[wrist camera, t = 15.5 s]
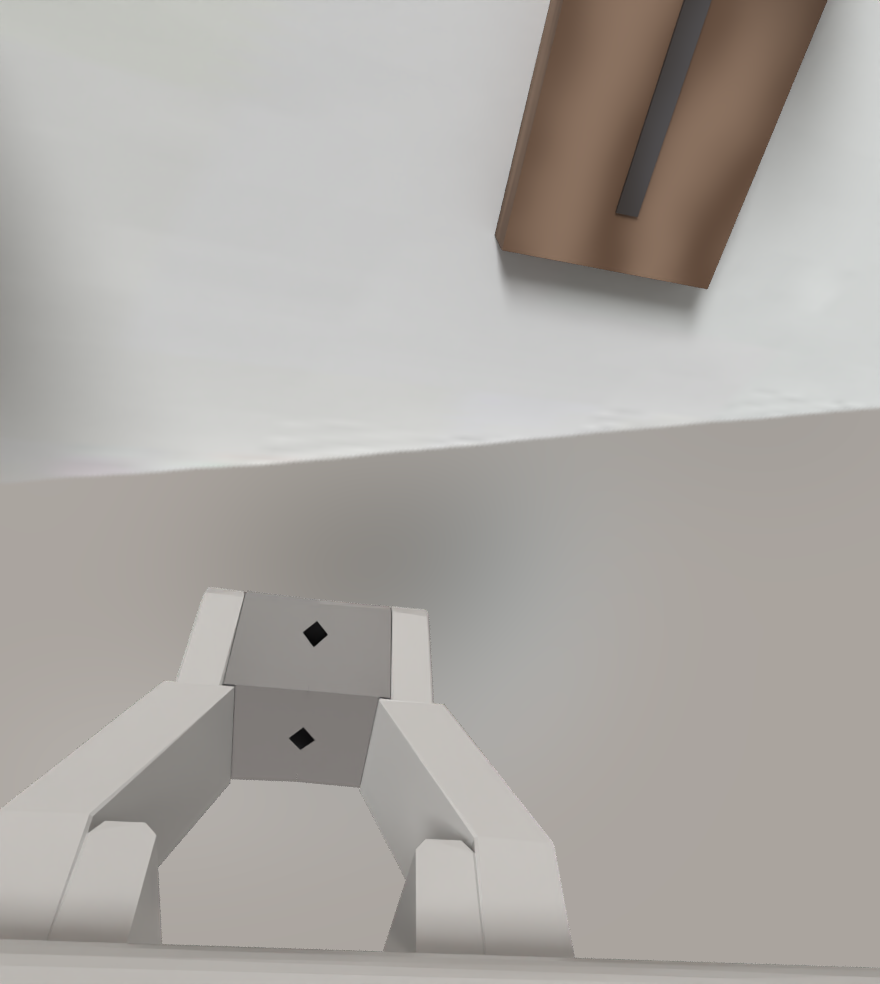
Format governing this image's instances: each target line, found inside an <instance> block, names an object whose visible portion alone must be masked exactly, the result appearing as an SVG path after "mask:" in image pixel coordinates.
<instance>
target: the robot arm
mask: <svg viewBox="0 0 880 984" xmlns="http://www.w3.org/2000/svg"><path fill="white" fill-rule="evenodd" d="M431 663H432V662H431V645H430V625H429V614H428V613H427V610H426V609H415V608H405V607H393V606H391V608H390V607H389V606H380V605H370V604H359V603H349V602H338V601H327V600H315V599H307V598H299V597H291V596H283V595H276V594H268V593H260V592H252V591H247V592H244V591H236V590H230V589H222V588H215V587H208V588H207V590H206V591H205V593H204V594H203V597H202V600H201V603H200V606H199V609H198V612H197V616H196V619H195V622H194V625H193V628H192V631H191V634H190V637H189V641H188V644H187V647H186V650H185V653H184V656H183V659H182V662H181V665H180V669H179V672H178V675H177V678H176V681H162V682H161V683H160V684H159V685H157V686H156V687H155V688H153V689H152V690H151V691H150V692H148V693H147V694H146V695H145V696H143V697H142V698H141V699H139V700H138V701H137V702H136V703H134V704H133V705H132V706H130V707H129V708H128V709H127V710H125V711H124V712H123V713H122V714H120V715H119V716H118V717H116V718H115V719H114V720H113V721H111V722H110V723H109V724H107V725H106V726H105V727H104V728H103V729H101V730H100V731H99V732H97V733H96V734H95V735H94V736H92V737H91V738H90V739H88V740H87V741H86V742H85V743H83V744H82V745H81V746H80V747H78V748H77V749H76V750H75V751H73V752H72V753H71V754H69V755H68V756H67V757H65V758H64V759H63V760H62V761H60V762H59V763H58V764H57V765H56V766H54V767H53V768H51V769H50V770H49V771H48V772H47V773H45V774H44V775H42V776H41V777H40V778H39V779H37V780H36V781H35V782H34V783H32V784H31V785H30V786H28V787H27V788H26V789H25V790H23V791H22V792H21V793H20V794H18V795H17V796H16V797H14V798H13V799H12V800H11V801H9V802H8V803H7V804H6V805H4V806H3V807H2V808H0V984H880V968H869V967H838V966H807V965H776V964H744V963H715V962H714V963H713V962H686V961H685V962H684V961H654V960H625V959H593V958H575V957H574V951H573V946H572V940H571V935H570V929H569V924H568V919H567V913H566V907H565V902H564V897H563V891H562V886H561V880H560V875H559V869H558V864H557V858H556V853H555V847H554V843H553V842H552V841H551V840H550V838H549V837H548V836H547V834H546V833H545V832H544V831H543V829H542V828H541V827H540V826H539V824H538V823H537V822H536V820H535V819H534V818H533V817H532V815H531V814H530V813H529V811H528V810H527V809H526V808H525V806H524V805H523V804H522V803H521V801H520V800H519V799H518V797H517V796H516V795H515V794H514V792H513V791H512V790H511V788H510V787H509V786H508V785H507V784H506V782H505V781H504V780H503V778H502V777H501V776H500V775H499V773H498V772H497V771H496V769H495V768H494V767H493V766H492V764H491V763H490V762H489V761H488V759H487V758H486V757H485V755H484V754H483V753H482V752H481V750H480V749H479V748H478V747H477V745H476V744H475V743H474V741H473V740H472V739H471V738H470V736H469V735H468V734H467V733H466V731H465V730H464V729H463V727H462V726H461V725H460V724H459V722H458V721H457V720H456V718H455V717H454V716H453V715H452V713H451V712H450V711H449V710H448V708H447V707H446V706H445V705H444V704H436V703H434V698H433V680H432V664H431ZM230 779H243V780H268V781H294V782H296V780H297V782H306V783H316V784H327V785H338V786H349V787H359V788H360V790H359V791H360V793H361V795H362V797H363V799H364V801H365V802H366V804H367V806H368V808H369V810H370V812H371V814H372V816H373V818H374V819H375V822H376V824H377V826H378V827H379V829H380V831H381V833H382V835H383V837H384V839H385V841H386V843H387V845H388V847H389V849H390V851H391V853H392V854H393V856H394V858H395V860H396V862H397V864H398V866H399V868H400V870H401V872H402V874H403V876H404V878H405V879H406V881H405V884H404V888H403V890H402V894H401V897H400V900H399V903H398V906H397V909H396V912H395V915H394V919H393V921H392V925H391V928H390V931H389V934H388V937H387V940H386V943H385V946H384V949H383V952H382V951H381V952H380V951H352V950H322V949H291V948H262V947H261V948H260V947H231V946H200V945H167V944H162V934H161V915H160V898H159V897H160V896H159V878H158V867H159V866H160V865H161V863H162V862H163V861H164V860H165V859H166V858H167V856H168V855H169V854H170V853H171V852H172V851H173V849H174V848H175V847H176V846H177V845H178V844H179V842H180V841H181V840H182V839H183V838H184V837H185V835H186V834H187V833H188V832H189V831H190V829H191V828H192V827H193V826H194V825H195V824H196V823H197V821H198V820H199V819H200V818H201V817H202V816H203V814H204V813H205V812H206V811H207V810H208V809H209V807H210V806H211V805H212V804H213V803H214V802H215V800H216V799H217V798H218V797H219V796H220V795H221V793H222V792H223V791H224V790H225V789H226V788H227V786H228V785H229V784H230Z"/></svg>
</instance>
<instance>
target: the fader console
mask: <svg viewBox="0 0 880 984" xmlns="http://www.w3.org/2000/svg"><path fill="white" fill-rule="evenodd" d="M826 3H827V0H551V1H550V5H549V9H548V13H547V17H546V22H545V26H544V30H543V34H542V38H541V43H540V47H539V51H538V55H537V59H536V64H535V68H534V72H533V76H532V80H531V85H530V89H529V93H528V97H527V101H526V106H525V110H524V114H523V118H522V122H521V127H520V131H519V135H518V139H517V143H516V148H515V152H514V156H513V160H512V164H511V169H510V173H509V177H508V181H507V185H506V190H505V194H504V198H503V202H502V206H501V211H500V215H499V219H498V223H497V227H496V232H495V236H496V238H497V241H498V243H499V245H500V247H501V249H502V250H504V251H509V252H514V253H520V254H525V255H530V256H535V257H541V258H546V259H551V260H556V261H562V262H567V263H572V264H577V265H583V266H588V267H593V268H599V269H604V270H609V271H614V272H620V273H625V274H630V275H635V276H641V277H646V278H651V279H656V280H662V281H667V282H672V283H677V284H683V285H688V286H693V287H699V288H704V289H708V287H709V284H710V282H711V280H712V277H713V275H714V272H715V270H716V267H717V265H718V263H719V260H720V258H721V255H722V253H723V251H724V248H725V246H726V243H727V241H728V239H729V236H730V234H731V231H732V229H733V227H734V224H735V222H736V219H737V217H738V214H739V212H740V210H741V207H742V205H743V202H744V200H745V198H746V195H747V193H748V190H749V188H750V186H751V183H752V181H753V178H754V176H755V174H756V171H757V169H758V166H759V164H760V162H761V159H762V157H763V154H764V152H765V149H766V147H767V145H768V142H769V140H770V137H771V135H772V133H773V130H774V128H775V125H776V123H777V121H778V118H779V116H780V113H781V111H782V109H783V106H784V104H785V101H786V99H787V96H788V94H789V92H790V89H791V87H792V84H793V82H794V80H795V77H796V75H797V72H798V70H799V68H800V65H801V63H802V60H803V58H804V56H805V53H806V51H807V48H808V46H809V44H810V41H811V39H812V36H813V34H814V31H815V29H816V27H817V24H818V22H819V19H820V17H821V15H822V12H823V10H824V7H825V5H826Z"/></svg>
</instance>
